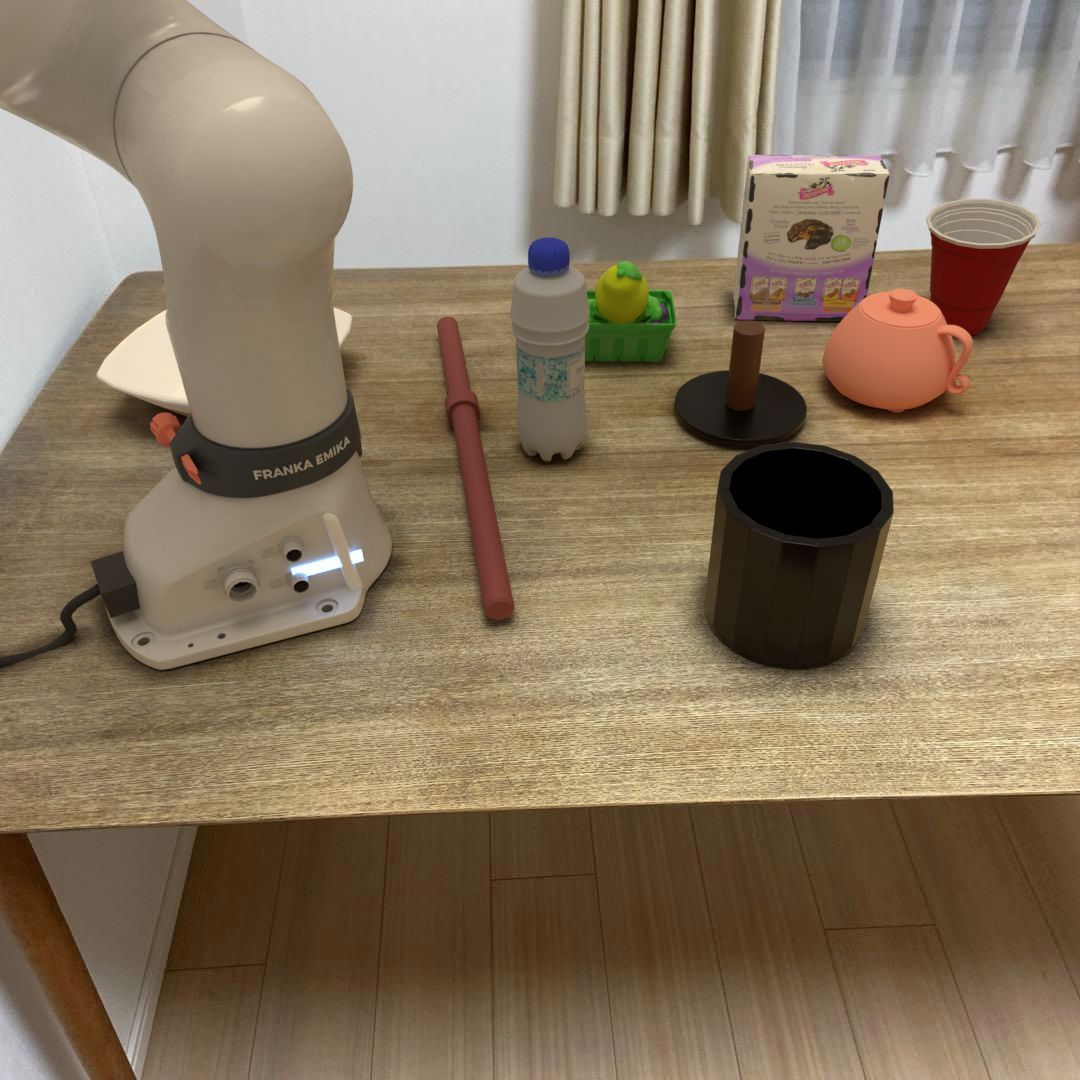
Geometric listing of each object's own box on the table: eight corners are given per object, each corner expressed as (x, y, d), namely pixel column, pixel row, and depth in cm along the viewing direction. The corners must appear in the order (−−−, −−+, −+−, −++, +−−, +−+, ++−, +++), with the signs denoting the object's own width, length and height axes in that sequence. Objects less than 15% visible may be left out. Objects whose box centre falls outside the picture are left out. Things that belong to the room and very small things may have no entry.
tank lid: (730, 466, 91) (740, 376, 85) (648, 404, 99) (652, 318, 93) (832, 424, 96) (849, 336, 90) (746, 368, 104) (756, 284, 98)
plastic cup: (882, 314, 112) (904, 208, 105) (958, 293, 116) (985, 189, 108) (951, 358, 105) (981, 247, 97) (1031, 334, 108) (1065, 225, 100)
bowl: (82, 428, 98) (64, 381, 95) (207, 325, 114) (196, 282, 110) (280, 467, 92) (268, 418, 89) (383, 353, 108) (377, 308, 105)
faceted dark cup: (775, 693, 70) (799, 568, 63) (673, 596, 78) (684, 475, 71) (896, 629, 75) (931, 505, 68) (788, 544, 83) (809, 425, 75)
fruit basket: (668, 332, 110) (675, 232, 103) (675, 374, 103) (683, 270, 96) (563, 333, 111) (563, 233, 103) (563, 375, 104) (562, 271, 97)
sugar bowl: (852, 345, 107) (871, 253, 101) (984, 388, 100) (1013, 292, 94) (796, 394, 100) (812, 299, 93) (933, 444, 93) (961, 344, 86)
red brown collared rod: (433, 339, 110) (431, 313, 108) (462, 336, 110) (460, 310, 108) (479, 628, 76) (477, 597, 74) (521, 623, 76) (520, 592, 74)
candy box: (855, 299, 115) (883, 152, 105) (862, 324, 111) (893, 173, 100) (731, 296, 116) (747, 150, 106) (734, 321, 112) (750, 171, 101)
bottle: (581, 472, 91) (583, 260, 78) (508, 464, 92) (497, 254, 79) (593, 430, 96) (596, 225, 83) (524, 424, 97) (516, 220, 84)
